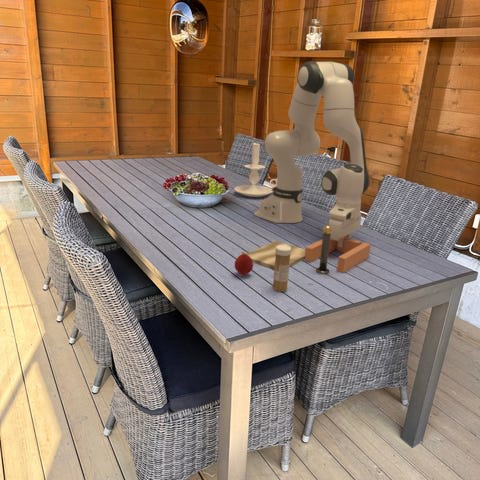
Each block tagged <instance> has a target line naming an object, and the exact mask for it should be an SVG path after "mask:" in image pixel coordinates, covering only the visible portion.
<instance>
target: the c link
mask: <svg viewBox="0 0 480 480" xmlns="http://www.w3.org/2000/svg"><path fill="white" fill-rule="evenodd" d="M343 242H344V246H343V247H341V248H340V247H338V241H336V240H332V239H330V244H329V252H328V254H329V253H331V252H333V251H335V250H336V249H337V251H338V252H340V253H341V252H342V253H343V254H341V255H339V256H337V257H338V259H337V266H336V271H337V272H339V273H343V274H345V272H347V271H349V270H350V269H352V268H353V267H355V266H357V265H358V264H360V263H362V262H363V261H365V260H367V259H368V258H369V257H370V252H371V251H370V250H371V245H372V244H371V243H369V242H363V243H362V240H356V239H354V238H351V237H350V238H346V237H344V239H343ZM321 248H322V239H320V240H318V241H316V242H314V243H311V244H310V245H307V246H305V259H304V260H303V261H305V262H308V263H312V262H314V261H316V260H318V259H320V257H321Z"/></svg>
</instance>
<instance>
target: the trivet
mask: <svg viewBox="0 0 480 480" xmlns="http://www.w3.org/2000/svg"><path fill="white" fill-rule="evenodd" d="M278 245H287V246H289V247H291V254H290V262H289V263H290V265H289V268H290V267H292V266H294V265H296V264H298V263H299V262H301V261H304V260H305V250H306V248H301V247H298V246H294V245H291V244H288V243H284V242H281V241H278V240H275V241H272V242H270V243H268V244H266V245H264V246H261V247H259V248H256V249H254V250H251V251H249V252H247V253H246V254H247V255H248V256H249V257H250V258H251V259H252V261H253V264H257V265H260V266H263V267H265V268H269V269H273V270H274V268H275V258H276V253H275V250H276V246H278Z"/></svg>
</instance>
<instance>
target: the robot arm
mask: <svg viewBox="0 0 480 480" xmlns="http://www.w3.org/2000/svg"><path fill="white" fill-rule="evenodd" d="M354 82H355V71H354V70H353V67H352V66H350V65H349V64H346V63H341V62H340V63H339V62H335V61H315V60H314V61H313V60H312V61H307V62H304V63H303V64H302V65H300V68H299V69H298V72H297V84H296V86H295V87H294V92H293V95H292V98H291V102H290V105H289V109H288V114H287V115H288V118H289V120H290V121H291V122H292V123H293V124H294V129H292V130H276V131H272V132H270V133H268V135H267V136H266V137H265V141H264V148H265V150H266V153H267V154H268V155H269V156H270V157H271V158H272V159H273V160H274V163H275V165H276V169H277V170H276V171H277V177H276V178H277V186H276V187H274V188H272V187H271V189H273V190H271V191H273V192H272V194H271V195H269V196H268V197H266V198H264V199H263V200H262V201H260V204H259V208H258V209H257V210H255V211H254V212H253V216H255V217H259V218H260V219H264V220H266V221H270V222H271V223H275V224H280V223H281V224H282V223H283V224H295V223H300V222H302V221H303V215H302V200H303V180H304V179H303V178H304V171H303V170H302V168H301V167H300V166H299V165H297V164H296V163H295V157H307V156H312V155H315V154H317V153H318V152H319V150H320V147H321V137H320V136H319V134H318V133H317V131H316V130H315V129H316V128H315V120H316V116H317V112H318V108H319V106H320V102H321V99H322V96H323V111H322V113H323V115H322V116H323V117H322V119H323V120H322V121H323V126H324V128H325V130H326V131H327V132H328V133H330V134H331V135H333V136H334V137H336V138H339V139H341V140H342V141H344V142H345V143H346V144H347V145H348V148H349V157H350V163H345V164H342V165H341V166H340V167H339V168H334V169H329V170H326V171H325V172H324V174H323V175H322V176H321V177H322V178H321V183H320V184H321V189H322V191H323V193H325V194H326V195H329V196H336V201H335V204H334V206H333V207H332V209H331V210H330V211H329V212H328V217H329V220H328V225H329V226H331V228H332V232H331V236H330V239H332V240H336V241H338V247H340V248H341V247H343V246H344V242H343V239H344V237H346V238H350V239H351V236H352V233H354V232H355V231H358V230H359V229H360V228H361V226H362V225H361V222H362V211H361V207H362V196H363V195H364V194H365V193H366V191H367V190H368V188H369V187H370V183H371V180H370V175H369V171H368V166H367V161H366V158H367V157H366V150H365V142H364V141H365V140H364V134H363V130H362V128H361V126H359V124H358V123H357V120H356V115H355V113H356V112H355V92H354V85H353V84H354Z"/></svg>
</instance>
